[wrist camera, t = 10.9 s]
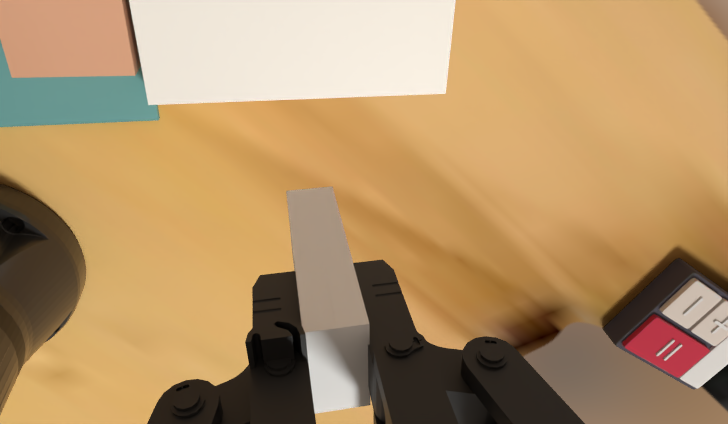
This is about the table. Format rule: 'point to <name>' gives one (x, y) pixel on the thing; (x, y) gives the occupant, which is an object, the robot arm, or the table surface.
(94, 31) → the tile
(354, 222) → the table surface
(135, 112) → the mat
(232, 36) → the panel
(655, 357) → the calculator
